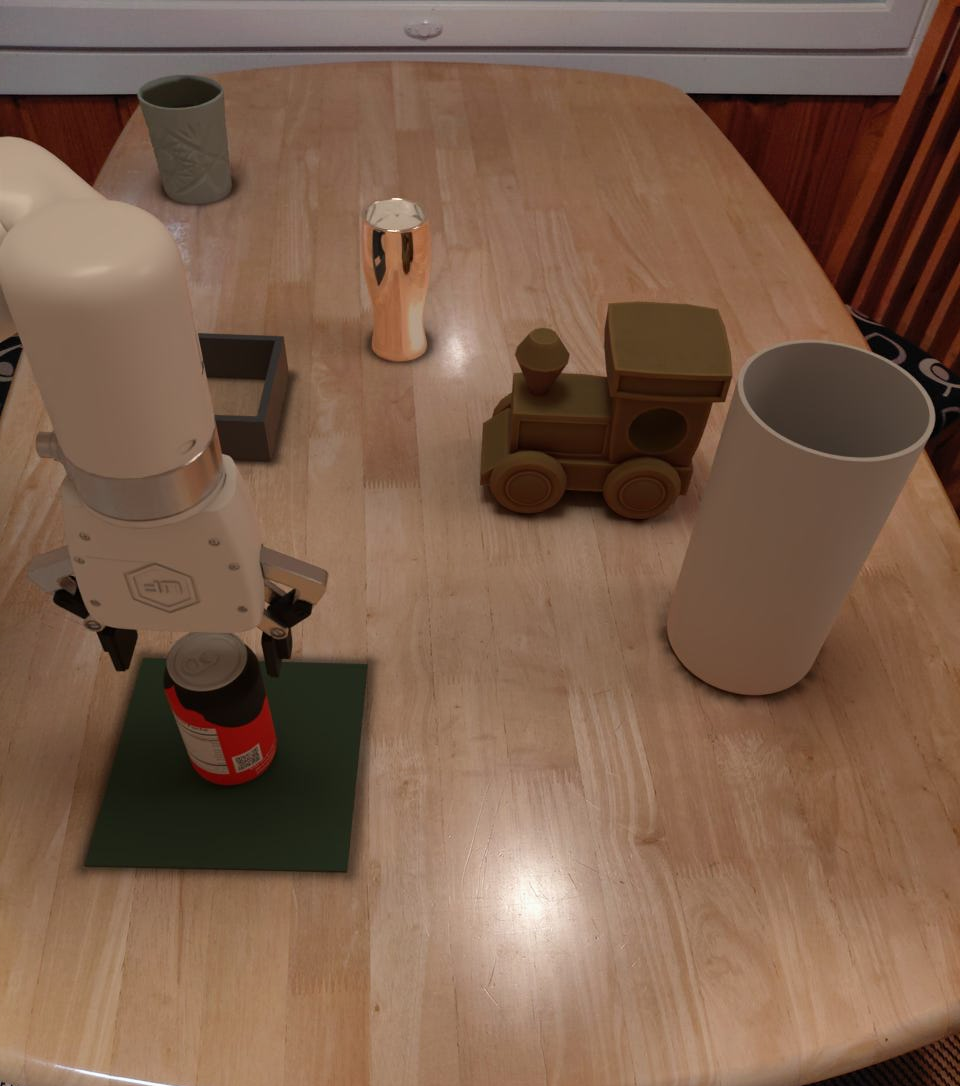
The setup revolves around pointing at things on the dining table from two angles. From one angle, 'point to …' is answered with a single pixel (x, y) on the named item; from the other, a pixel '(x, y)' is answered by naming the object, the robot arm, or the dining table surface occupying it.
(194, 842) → the mat
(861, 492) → the cylinder vase
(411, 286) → the beer glass
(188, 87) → the grey-green embossed pot
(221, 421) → the box
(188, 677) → the beverage can
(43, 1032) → the dining table surface
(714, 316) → the wooden toy train
